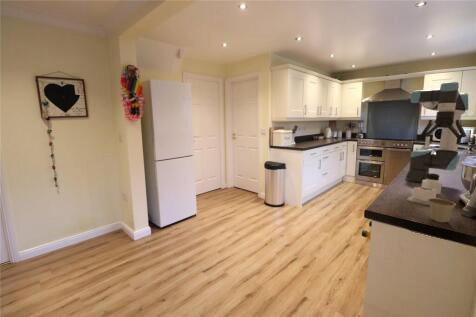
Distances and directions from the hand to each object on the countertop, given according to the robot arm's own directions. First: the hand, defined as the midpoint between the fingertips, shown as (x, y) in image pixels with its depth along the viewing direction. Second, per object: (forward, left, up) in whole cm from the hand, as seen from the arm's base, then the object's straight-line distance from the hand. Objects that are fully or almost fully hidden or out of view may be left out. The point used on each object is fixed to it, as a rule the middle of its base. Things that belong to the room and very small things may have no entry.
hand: (440, 148), depth 133 cm
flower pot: (+40, +9, -29) cm, 50 cm away
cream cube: (+14, -2, -28) cm, 31 cm away
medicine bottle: (-9, -3, -29) cm, 30 cm away
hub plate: (+13, -2, -29) cm, 32 cm away
